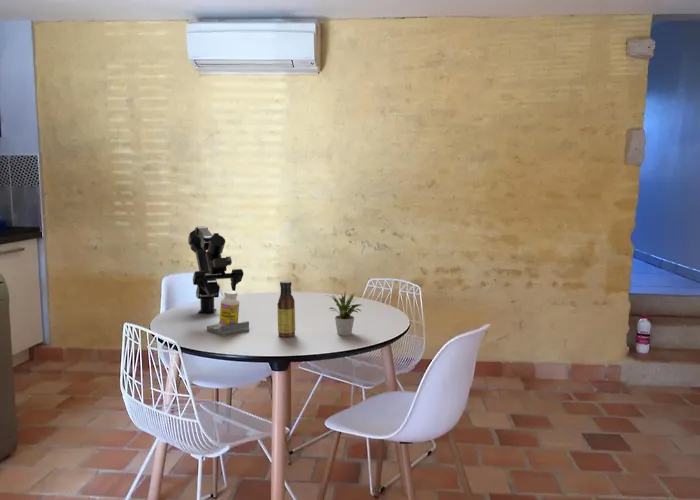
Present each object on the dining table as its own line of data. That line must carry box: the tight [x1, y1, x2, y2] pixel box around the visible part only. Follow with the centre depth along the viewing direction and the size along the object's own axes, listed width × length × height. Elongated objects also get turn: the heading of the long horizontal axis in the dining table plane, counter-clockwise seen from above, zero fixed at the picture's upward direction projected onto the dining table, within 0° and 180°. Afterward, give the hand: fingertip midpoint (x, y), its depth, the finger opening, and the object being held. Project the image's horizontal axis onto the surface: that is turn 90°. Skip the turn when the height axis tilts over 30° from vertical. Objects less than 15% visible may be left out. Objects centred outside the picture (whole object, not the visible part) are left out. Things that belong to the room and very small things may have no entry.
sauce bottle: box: [277, 280, 296, 338], centre depth 194 cm, size 6×6×20 cm
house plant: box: [326, 289, 363, 336], centre depth 197 cm, size 14×14×16 cm
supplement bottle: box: [218, 289, 240, 326], centre depth 200 cm, size 7×7×13 cm
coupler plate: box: [206, 320, 250, 337], centre depth 201 cm, size 11×11×4 cm
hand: (222, 294), depth 206 cm, fingers open, 9 cm apart
